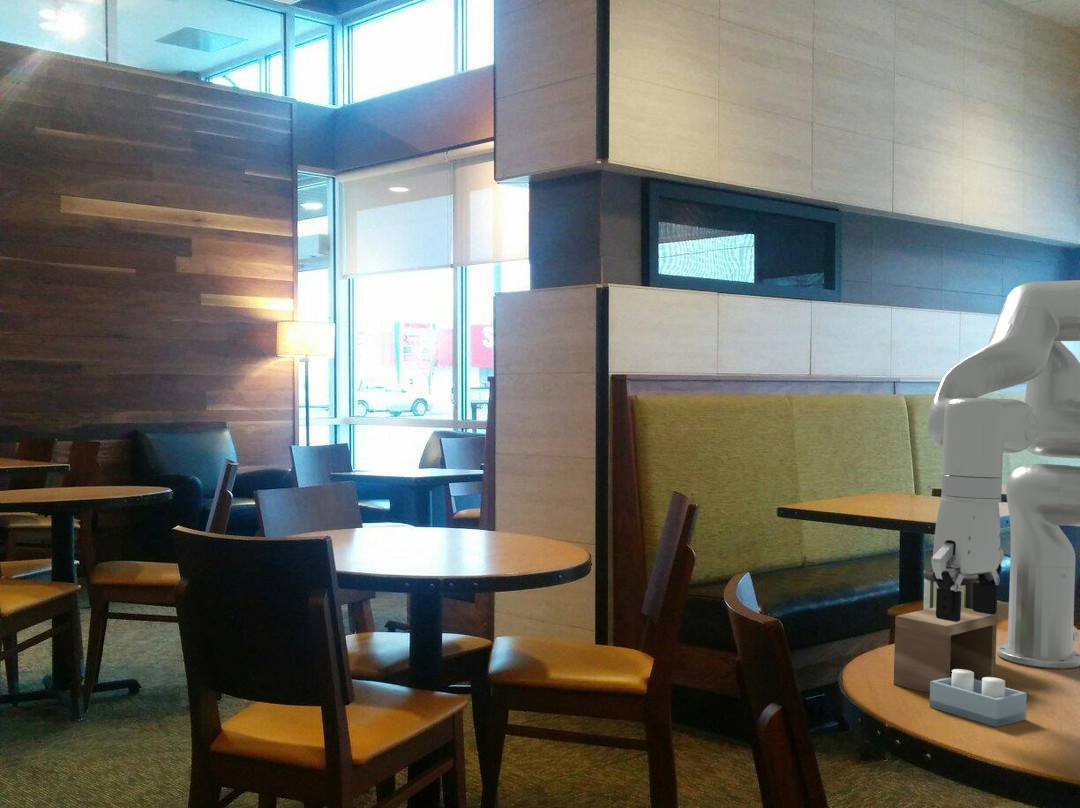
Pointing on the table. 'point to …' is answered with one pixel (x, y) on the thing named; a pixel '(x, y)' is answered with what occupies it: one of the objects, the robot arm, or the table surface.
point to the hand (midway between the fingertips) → (966, 616)
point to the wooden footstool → (942, 647)
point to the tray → (978, 698)
